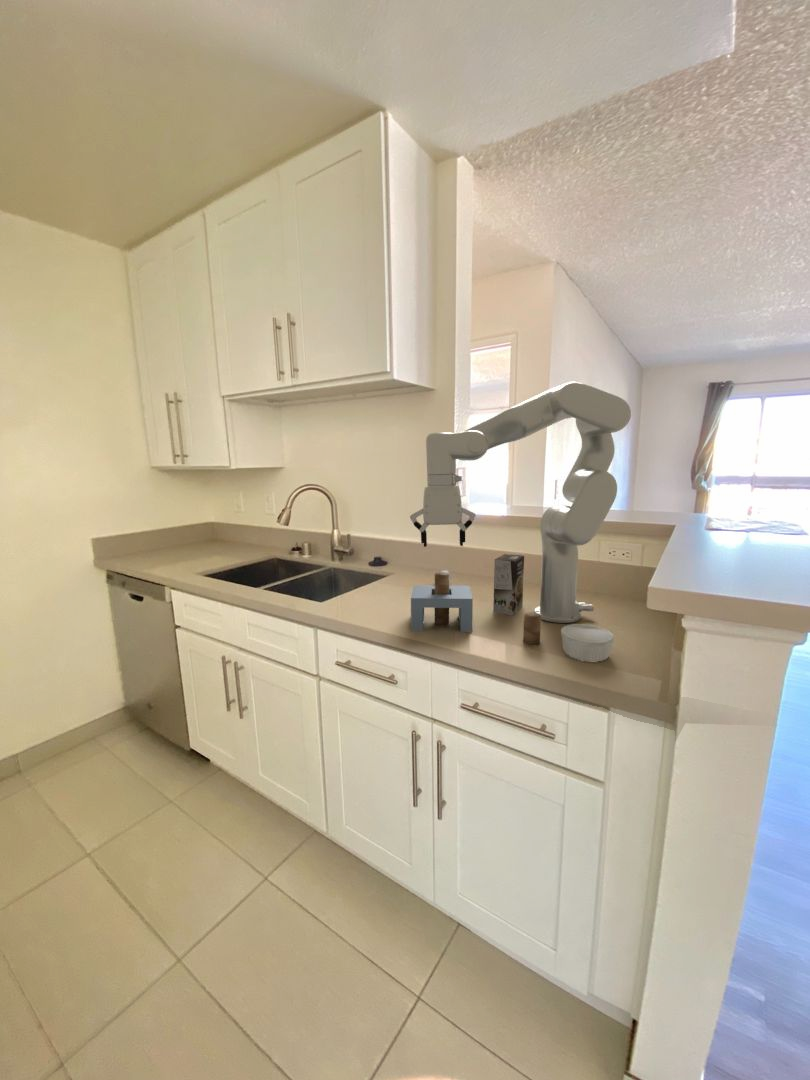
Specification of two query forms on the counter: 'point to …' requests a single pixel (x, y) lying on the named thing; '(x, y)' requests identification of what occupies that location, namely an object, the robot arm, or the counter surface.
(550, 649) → the counter surface
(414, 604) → the bridge
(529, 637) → the short pin
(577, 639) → the ramekin
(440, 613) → the tall pin
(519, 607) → the coffee box
